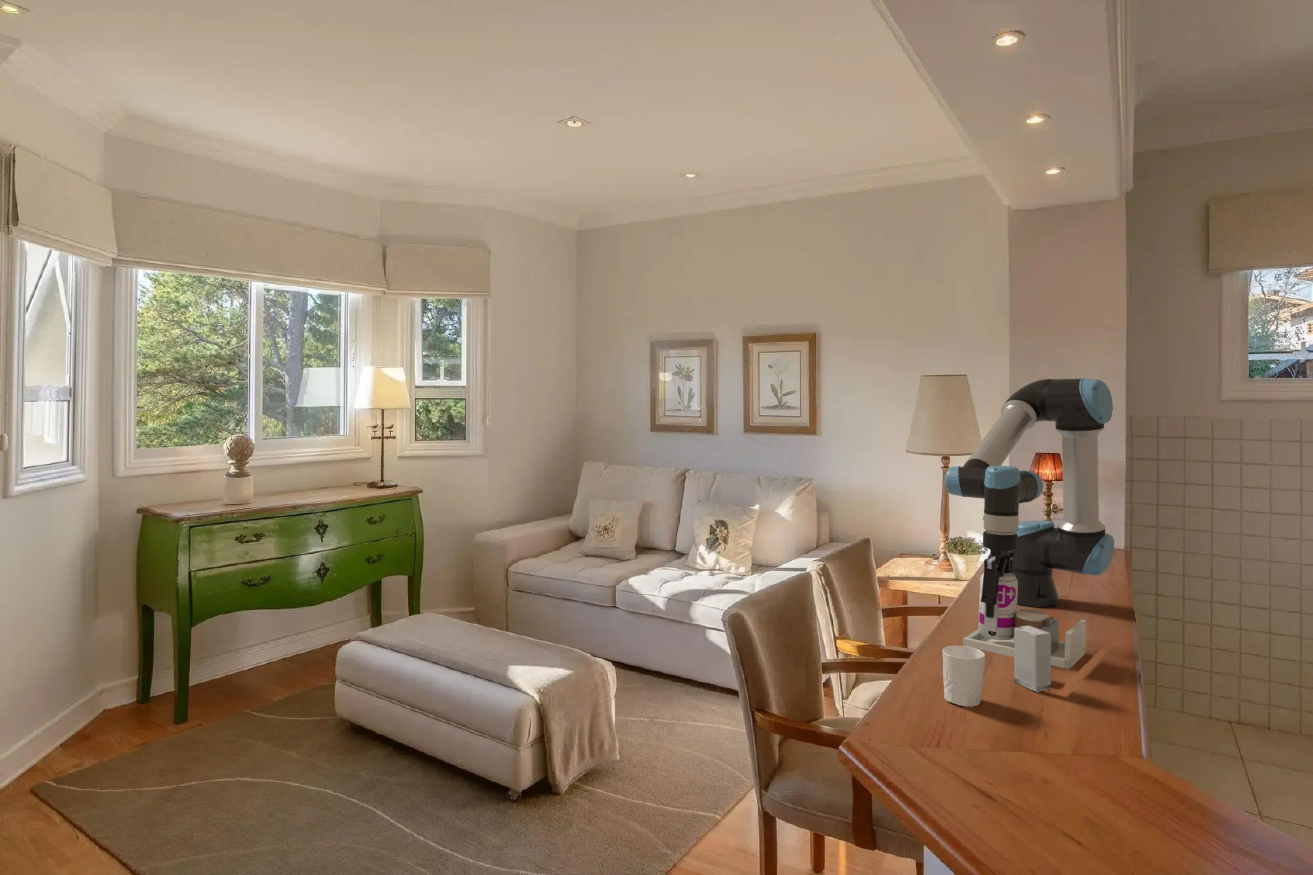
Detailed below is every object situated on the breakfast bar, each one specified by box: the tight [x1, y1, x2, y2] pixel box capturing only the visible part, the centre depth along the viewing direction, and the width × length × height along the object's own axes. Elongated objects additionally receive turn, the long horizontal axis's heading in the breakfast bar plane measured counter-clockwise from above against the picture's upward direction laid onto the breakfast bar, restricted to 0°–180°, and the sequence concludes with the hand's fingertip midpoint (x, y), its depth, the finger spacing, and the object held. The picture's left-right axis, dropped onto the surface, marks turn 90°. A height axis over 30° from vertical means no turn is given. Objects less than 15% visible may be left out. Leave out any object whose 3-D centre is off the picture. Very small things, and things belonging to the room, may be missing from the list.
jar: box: [1015, 608, 1049, 630], centre depth 182 cm, size 7×7×9 cm
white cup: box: [941, 645, 986, 706], centre depth 156 cm, size 8×8×10 cm
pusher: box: [1041, 616, 1060, 655], centre depth 179 cm, size 10×1×8 cm, turn 138°
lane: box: [962, 619, 1087, 670], centre depth 183 cm, size 13×23×9 cm, turn 48°
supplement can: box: [977, 570, 1018, 640], centre depth 186 cm, size 8×8×15 cm
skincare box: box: [1014, 626, 1052, 693], centre depth 164 cm, size 6×4×12 cm
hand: (997, 625), depth 187 cm, fingers closed on supplement can, 8 cm apart
